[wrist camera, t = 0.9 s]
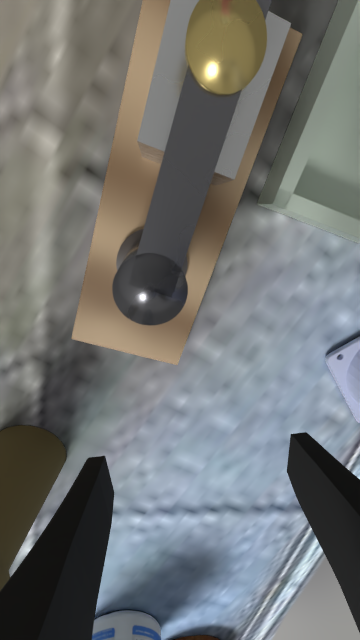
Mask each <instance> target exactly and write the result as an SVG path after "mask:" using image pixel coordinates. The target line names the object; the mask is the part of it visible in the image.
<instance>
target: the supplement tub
mask: <svg viewBox="0 0 360 640" xmlns="http://www.w3.org/2000/svg"><path fill="white" fill-rule="evenodd" d="M92 640H161V629H160V626H159V624H158V622H157V621H156V619H155V618H153V617H152V616H151V615H149V614H146V613H144V612H140V611H132V610H124V611H116V612H113V613H110V614H107V615H103V616H100V617H99V618H97V619H95V620H94V625H93V633H92Z"/></svg>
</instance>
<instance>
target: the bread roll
mask: <svg viewBox="0 0 360 640" xmlns="http://www.w3.org/2000/svg"><path fill="white" fill-rule="evenodd" d="M174 640H220V639H218V638H216V637H212V636H208V635H196V636H187V637H180V638H177V639H174Z"/></svg>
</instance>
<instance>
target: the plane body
mask: <svg viewBox="0 0 360 640" xmlns="http://www.w3.org/2000/svg"><path fill="white" fill-rule="evenodd" d="M170 1H171V0H143V2H142V7H141V12H140V16H139V21H138V26H137V31H136V35H135V40H134V45H133V50H132V54H131V59H130V64H129V68H128V73H127V78H126V83H125V87H124V92H123V97H122V102H121V106H120V111H119V116H118V121H117V125H116V130H115V135H114V139H113V144H112V149H111V154H110V158H109V163H108V168H107V173H106V177H105V182H104V187H103V191H102V196H101V201H100V206H99V210H98V215H97V220H96V225H95V229H94V234H93V239H92V243H91V248H90V253H89V258H88V262H87V267H86V272H85V277H84V281H83V286H82V291H81V296H80V300H79V305H78V310H77V314H76V319H75V324H74V329H73V333H72V338H71V339H74V340H78V341H82V342H86V343H90V344H94V345H98V346H102V347H106V348H110V349H114V350H118V351H122V352H126V353H130V354H134V355H138V356H142V357H147V358H151V359H155V360H159V361H163V362H167V363H171V364H175V365H177V364H178V362H179V359H180V357H181V354H182V351H183V349H184V346H185V343H186V341H187V338H188V335H189V333H190V330H191V328H192V325H193V322H194V320H195V317H196V314H197V312H198V309H199V306H200V304H201V301H202V298H203V296H204V293H205V291H206V288H207V285H208V283H209V280H210V277H211V275H212V272H213V269H214V267H215V264H216V262H217V259H218V256H219V254H220V251H221V248H222V246H223V243H224V240H225V238H226V235H227V232H228V230H229V227H230V225H231V222H232V219H233V217H234V214H235V211H236V209H237V206H238V203H239V201H240V198H241V196H242V193H243V190H244V188H245V185H246V182H247V180H248V177H249V174H250V172H251V169H252V166H253V164H254V161H255V159H256V156H257V153H258V151H259V148H260V145H261V143H262V140H263V137H264V135H265V132H266V130H267V127H268V124H269V122H270V119H271V116H272V114H273V111H274V108H275V106H276V103H277V100H278V98H279V95H280V93H281V90H282V87H283V85H284V82H285V79H286V77H287V74H288V71H289V69H290V66H291V64H292V61H293V58H294V56H295V53H296V50H297V48H298V45H299V42H300V40H301V37H302V33H300V32H298V31H296V30H294V29H292V28H289V31H288V34H287V37H286V39H285V42H284V45H283V48H282V50H281V53H280V56H279V59H278V61H277V64H276V67H275V70H274V72H273V75H272V78H271V81H270V83H269V86H268V89H267V92H266V94H265V97H264V100H263V103H262V105H261V108H260V111H259V114H258V116H257V119H256V122H255V125H254V127H253V130H252V133H251V136H250V138H249V141H248V144H247V147H246V149H245V152H244V155H243V158H242V160H241V163H240V166H239V169H238V171H237V174H236V177H235V180H232V181H229V182H226V183H222V184H219V185H213V184H211V183H210V186H209V189H208V192H207V195H206V198H205V201H204V204H203V207H202V210H201V213H200V216H199V219H198V222H197V225H196V228H195V231H194V234H193V236H192V239H191V242H190V245H189V248H188V251H187V254H186V257H185V260H184V263H183V266H182V270H183V272H184V275H185V277H186V280H187V285H188V295H187V299H186V303H185V305H184V307H183V308H182V310H181V311H180V313H179V314H178V315H177V316H176V317H174V318H173V319H172V320H170V321H168V322H166V323H163V324H160V325H151V326H149V325H142V324H138V323H136V322H133V321H131V320H130V319H128V318H127V317H126V316H124V315H123V314H122V312H121V311H120V310H119V309H118V307H117V305H116V303H115V301H114V298H113V292H112V284H113V279H114V276H115V274H116V272H117V270H118V269H119V267H120V265H121V263H122V262H123V260H124V258H125V257H126V255H127V253H128V252H129V250H130V249H131V248H132V247H133V246H134V245H135V244H136V243H138V242H140V240H141V237H142V233H143V229H144V226H145V222H146V218H147V215H148V211H149V207H150V203H151V200H152V196H153V192H154V189H155V185H156V181H157V178H158V174H159V170H160V167H161V164H159V163H156V162H154V161H151V160H149V159H146V158H144V157H142V155H141V152H140V149H139V145H138V142H137V139H138V135H139V131H140V127H141V123H142V118H143V114H144V110H145V106H146V102H147V97H148V93H149V89H150V85H151V81H152V76H153V72H154V68H155V64H156V60H157V55H158V51H159V47H160V43H161V39H162V34H163V30H164V26H165V22H166V18H167V13H168V9H169V5H170Z"/></svg>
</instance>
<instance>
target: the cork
mask: <svg viewBox="0 0 360 640" xmlns="http://www.w3.org/2000/svg"><path fill="white" fill-rule="evenodd" d="M65 461H66V450H65V448H64V446H63V443H62V442H61V441H60V440H59V439H58V438H57V437H56V436H55V435H54V434H52V433H50V432H48V431H47V430H45V429H42V428H38V427H35V426H26V425H18V426H13V427H8V428H6V429H4V430H2V431H0V591H1V589H2V588H3V587H4V585H5V584H6V583H7V581H8V580H9V579H10V575H9V569H10V567H11V565H12V563H13V561H14V559H15V557H16V555H17V553H18V551H19V550H20V548H21V546H22V544H23V542H24V540H25V538H26V536H27V534H28V532H29V530H30V528H31V527H32V525H33V523H34V521H35V519H36V517H37V515H38V513H39V511H40V509H41V507H42V506H43V504H44V502H45V500H46V498H47V496H48V494H49V492H50V490H51V488H52V486H53V485H54V483H55V481H56V479H57V477H58V475H59V473H60V471H61V469H62V467H63V465H64V463H65Z"/></svg>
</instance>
